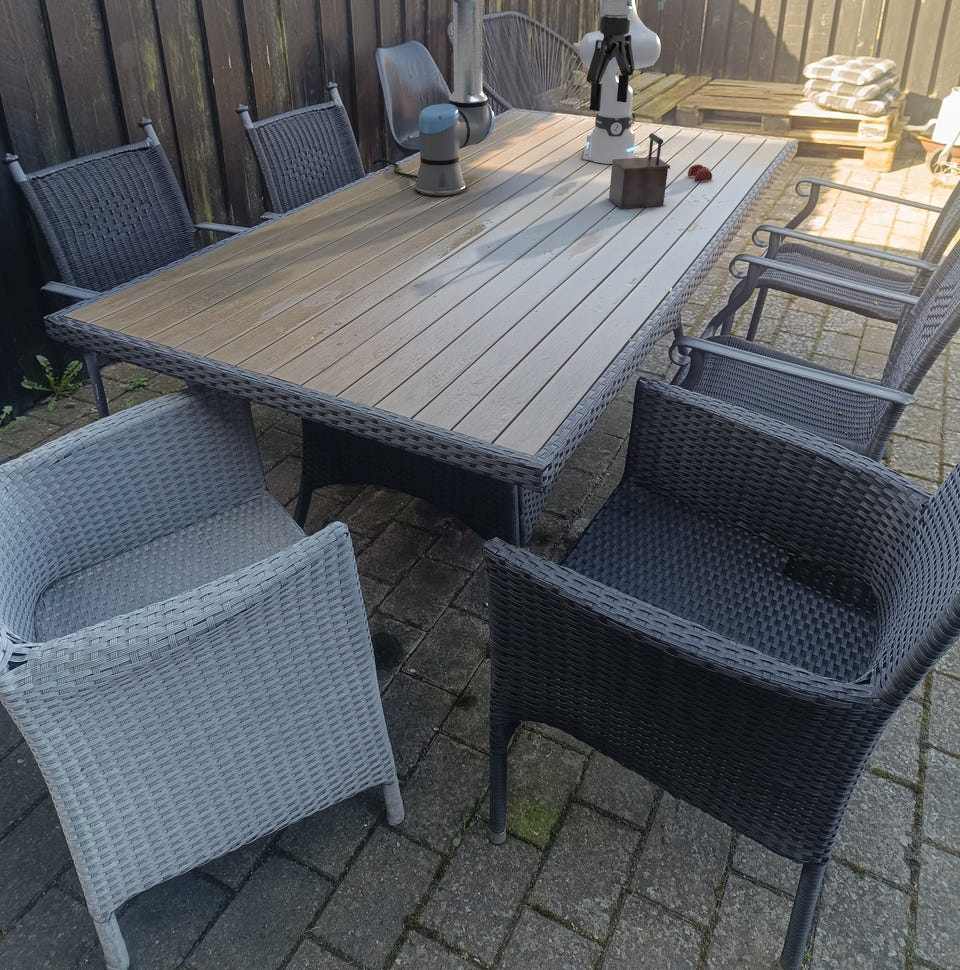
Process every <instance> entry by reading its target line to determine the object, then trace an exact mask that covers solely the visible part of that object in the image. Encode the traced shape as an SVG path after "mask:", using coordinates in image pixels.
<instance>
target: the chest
mask: <svg viewBox="0 0 960 970" xmlns="http://www.w3.org/2000/svg"><path fill="white" fill-rule="evenodd" d="M610 171H611V173H610V184H609V194H608V195H609V196H608V200H610V201H611V202H612V203H613V204H614V205H616V206H617V207H618V208H619V209H620V210H625V209H639V208H654V207H663V206H664V203H665V196H666V190H667V189H666V188H667V181H668V172H669V169H657V170H641V171H626V172H624V171H623V170H622V169H621V168H619V167H618V166H617V165H615V164H614V163H613V162H612V164H611V170H610Z"/></svg>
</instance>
